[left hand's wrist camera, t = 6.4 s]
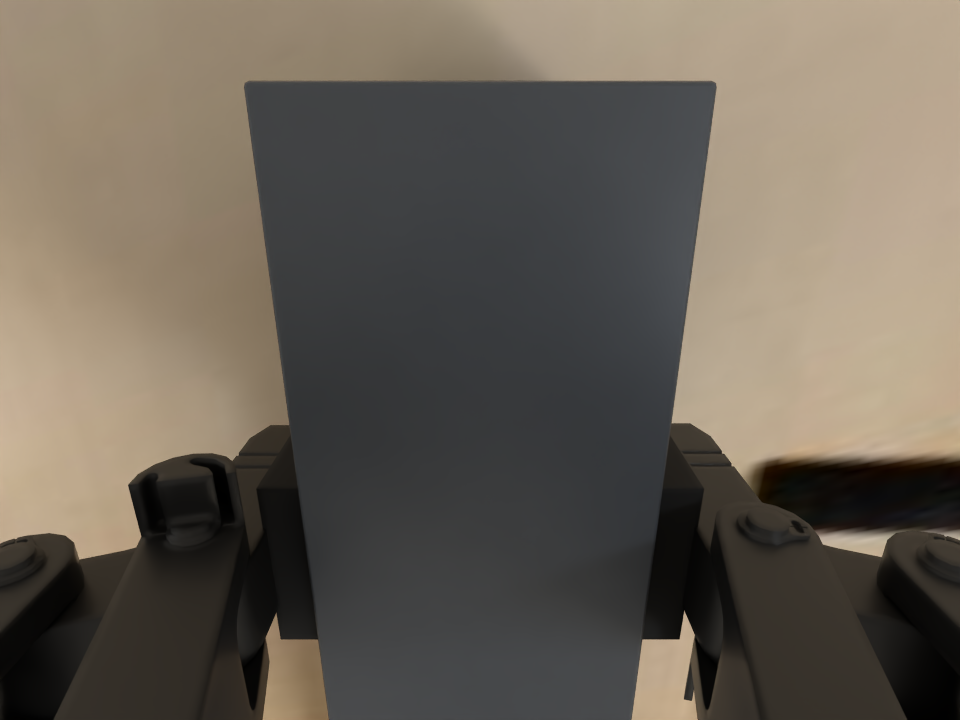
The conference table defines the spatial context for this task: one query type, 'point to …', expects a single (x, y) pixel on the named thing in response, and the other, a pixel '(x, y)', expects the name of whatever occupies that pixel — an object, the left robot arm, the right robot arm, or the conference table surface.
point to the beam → (480, 376)
